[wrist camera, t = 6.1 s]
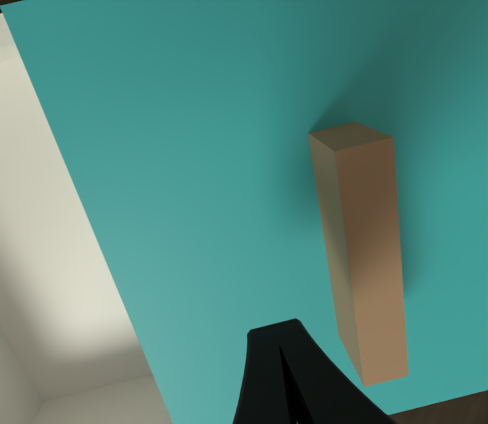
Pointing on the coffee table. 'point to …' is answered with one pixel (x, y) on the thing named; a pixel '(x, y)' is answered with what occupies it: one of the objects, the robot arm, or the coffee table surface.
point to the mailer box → (57, 285)
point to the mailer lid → (280, 181)
